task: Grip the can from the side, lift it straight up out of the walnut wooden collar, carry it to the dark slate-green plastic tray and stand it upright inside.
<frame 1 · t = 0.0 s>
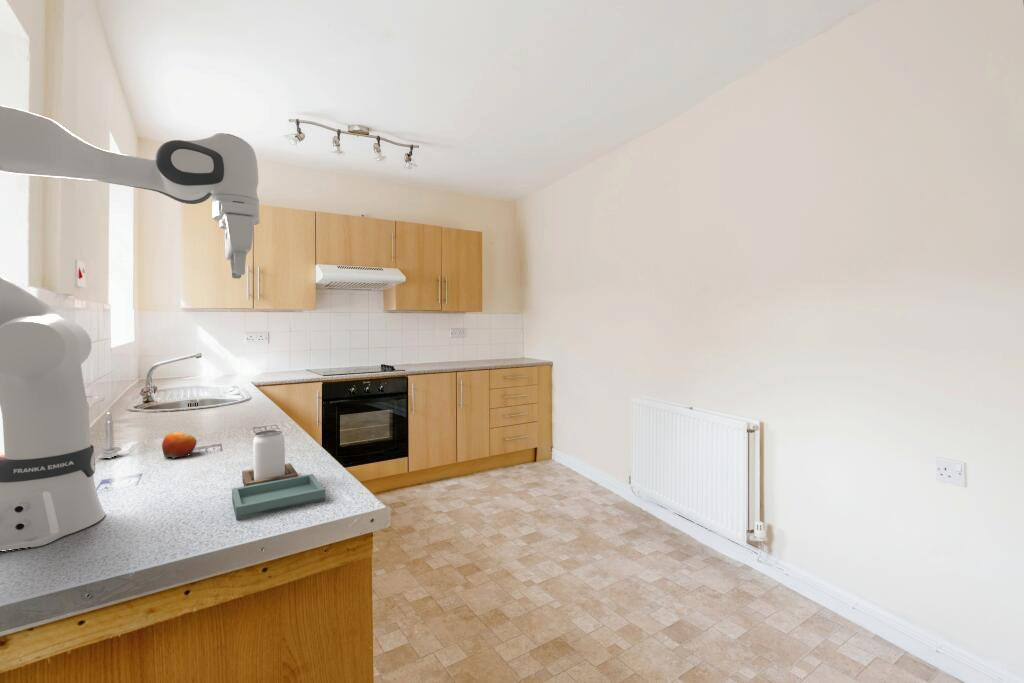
hand: (238, 276, 99), 48 cm above the countertop, tool pointing down, fingers open, 8 cm apart
collar: (270, 483, 106), on the countertop
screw: (110, 458, 127), on the countertop
can: (270, 484, 106), resting in collar
fruit: (179, 457, 128), on the countertop
tray: (278, 500, 95), on the countertop
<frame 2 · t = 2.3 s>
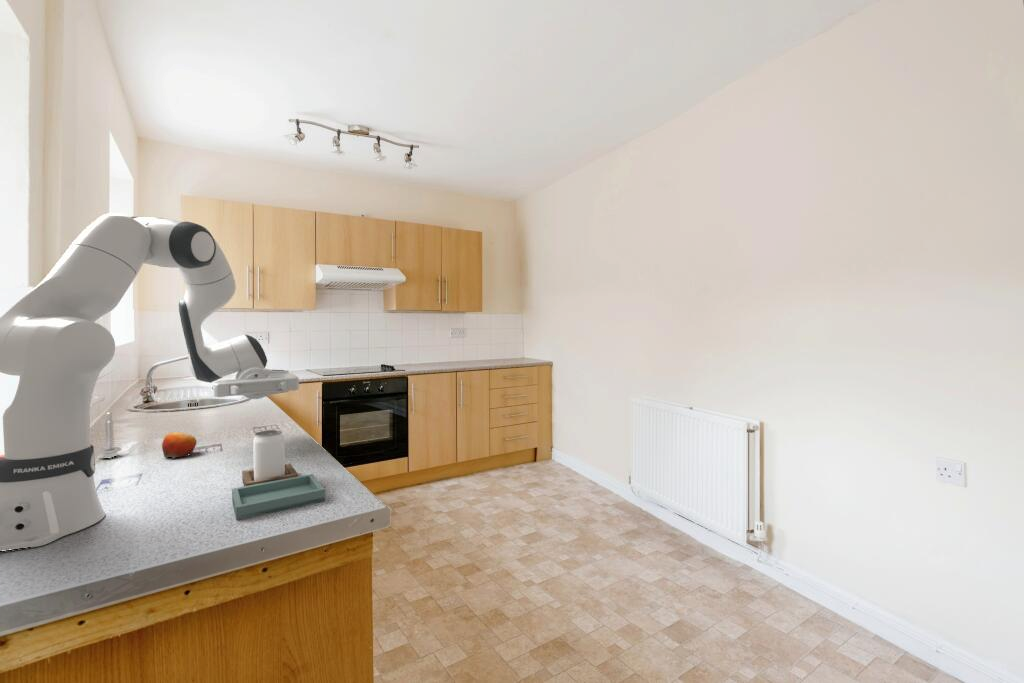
hand: (260, 389, 117), 20 cm above the countertop, tool horizontal, fingers open, 8 cm apart
nothing on the countertop moved.
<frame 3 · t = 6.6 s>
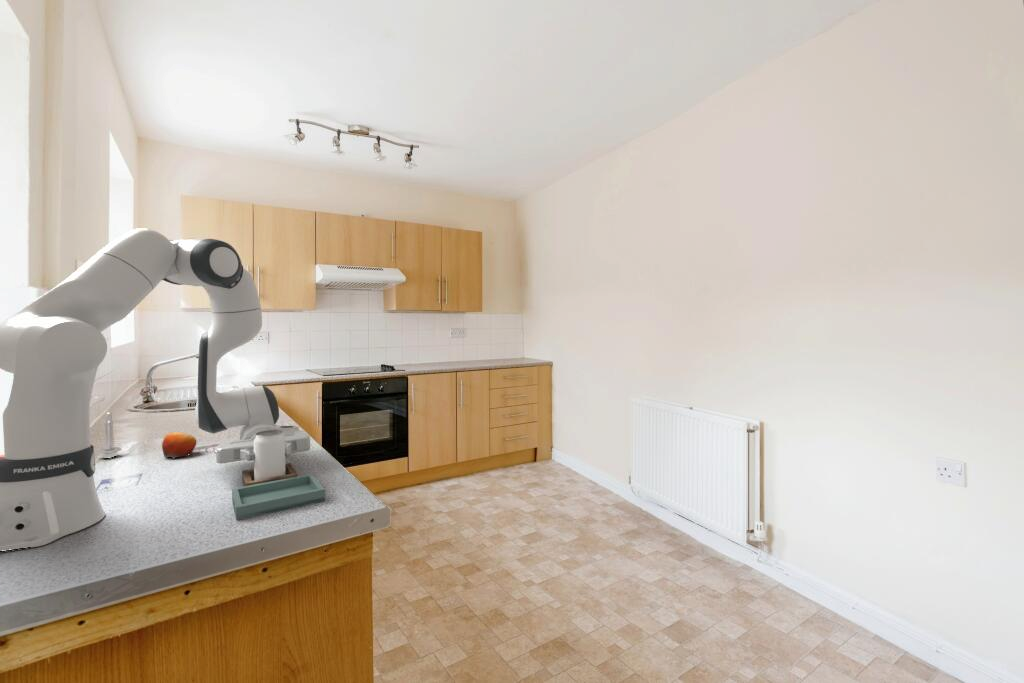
hand: (268, 454, 105), 7 cm above the countertop, tool horizontal, fingers open, 6 cm apart
can: (270, 483, 106), resting in collar, touching gripper
everything else where it was.
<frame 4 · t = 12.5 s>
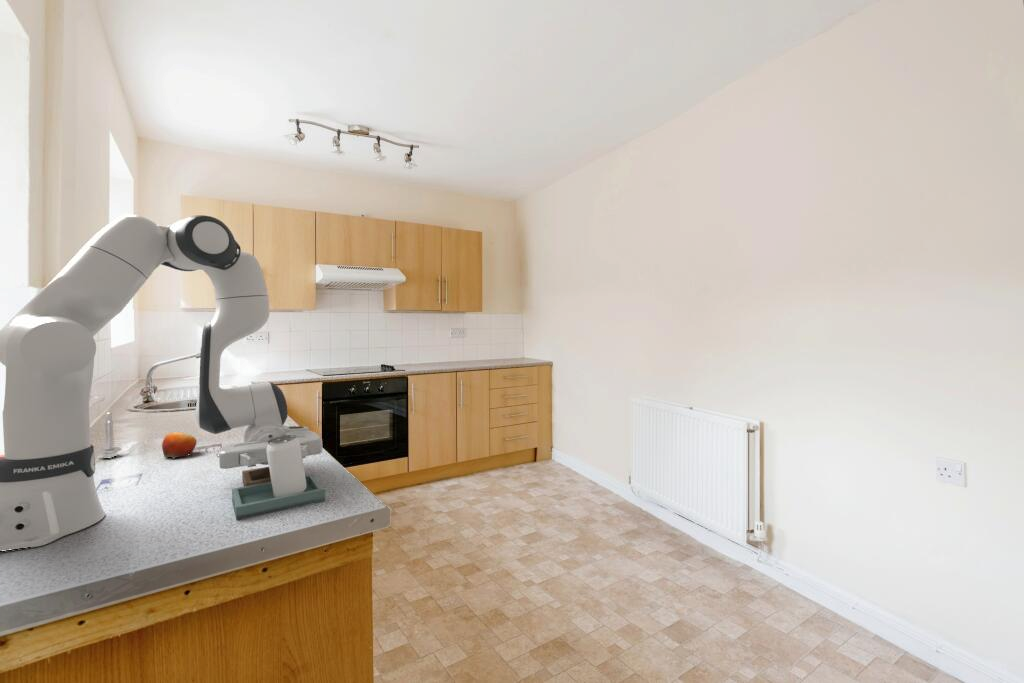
hand: (277, 458, 94), 9 cm above the countertop, tool horizontal, fingers open, 8 cm apart
can: (290, 493, 97), point 1 cm above the countertop, touching gripper, tray
everything else where it was.
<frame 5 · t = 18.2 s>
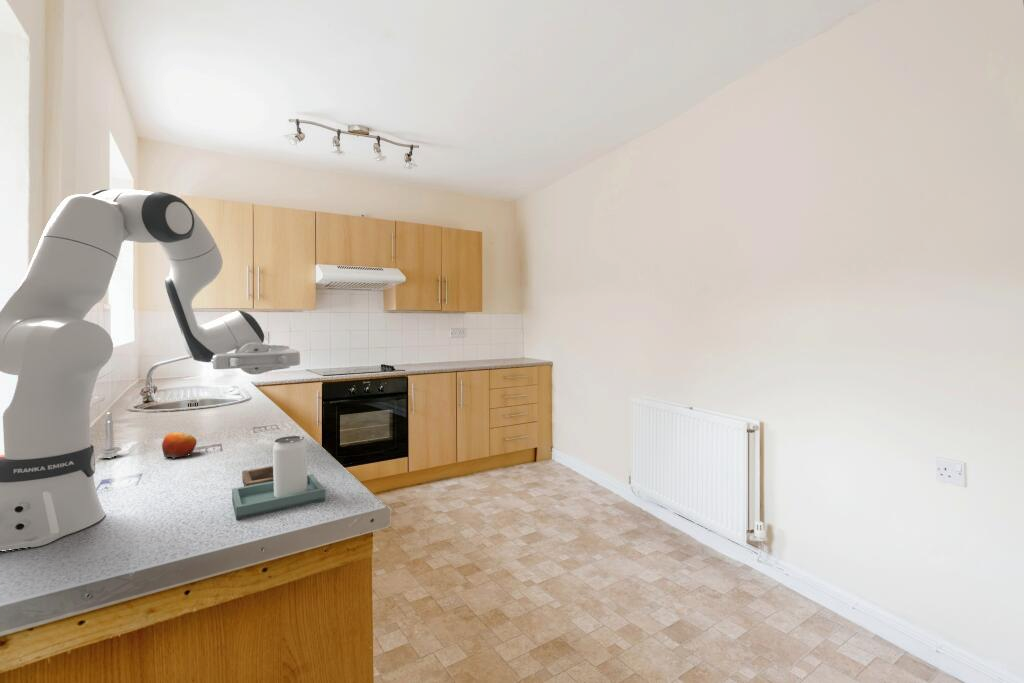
hand: (261, 361, 114), 28 cm above the countertop, tool horizontal, fingers open, 8 cm apart
can: (291, 495, 97), point 1 cm above the countertop, touching tray
everything else where it was.
at the end: can inside the target area on the tray (2.4 cm from its centre), point 0.6 cm above the tray's base; can tilted 0°; the gripper is holding nothing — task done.
